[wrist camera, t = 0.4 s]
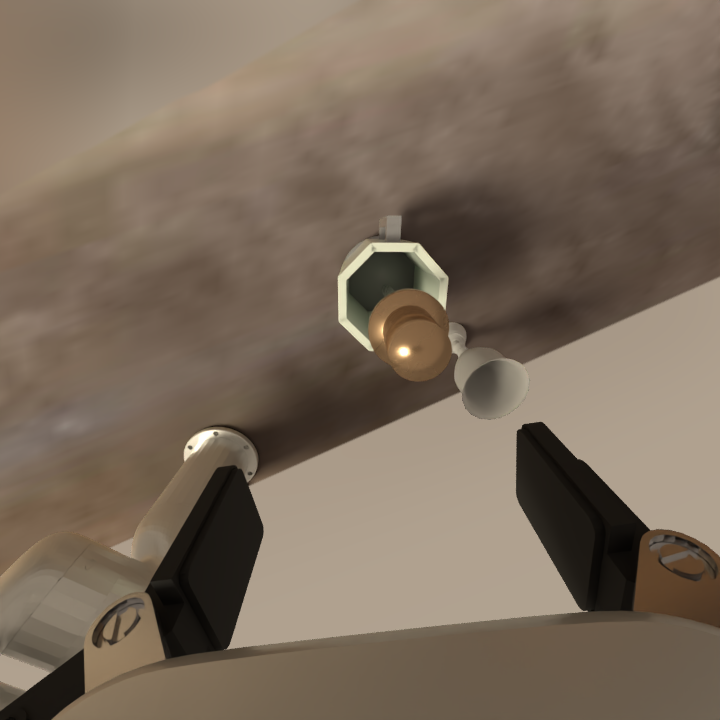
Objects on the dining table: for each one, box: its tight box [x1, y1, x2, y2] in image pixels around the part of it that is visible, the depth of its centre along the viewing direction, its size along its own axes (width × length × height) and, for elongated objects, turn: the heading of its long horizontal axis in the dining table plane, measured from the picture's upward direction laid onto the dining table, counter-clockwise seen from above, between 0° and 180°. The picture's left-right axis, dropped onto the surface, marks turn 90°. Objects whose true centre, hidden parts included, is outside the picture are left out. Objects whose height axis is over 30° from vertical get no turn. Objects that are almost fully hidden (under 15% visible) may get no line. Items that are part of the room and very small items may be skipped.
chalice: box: [448, 322, 530, 420], centre depth 43 cm, size 7×7×18 cm
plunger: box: [368, 285, 452, 381], centre depth 29 cm, size 6×6×21 cm
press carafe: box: [338, 216, 448, 351], centre depth 41 cm, size 14×12×16 cm
